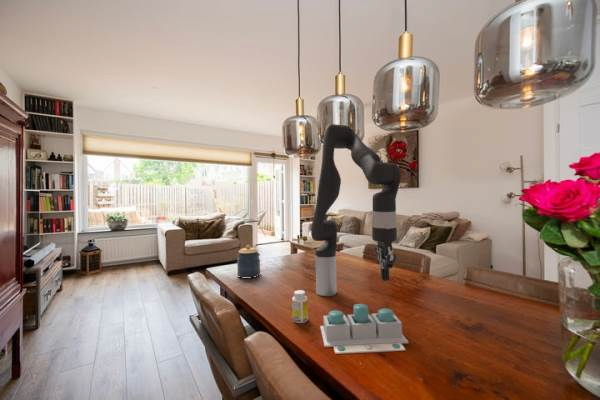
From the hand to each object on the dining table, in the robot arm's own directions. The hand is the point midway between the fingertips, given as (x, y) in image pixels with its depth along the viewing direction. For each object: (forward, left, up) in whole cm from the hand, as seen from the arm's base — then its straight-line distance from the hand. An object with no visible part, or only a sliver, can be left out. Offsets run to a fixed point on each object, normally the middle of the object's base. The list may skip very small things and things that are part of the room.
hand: (385, 279), depth 86 cm
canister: (-70, -54, -18) cm, 90 cm away
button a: (0, -16, -16) cm, 23 cm away
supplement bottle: (-12, -27, -18) cm, 34 cm away
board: (0, -8, -17) cm, 19 cm away
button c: (0, 0, -16) cm, 16 cm away
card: (+8, -8, -17) cm, 21 cm away
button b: (0, -8, -14) cm, 16 cm away
